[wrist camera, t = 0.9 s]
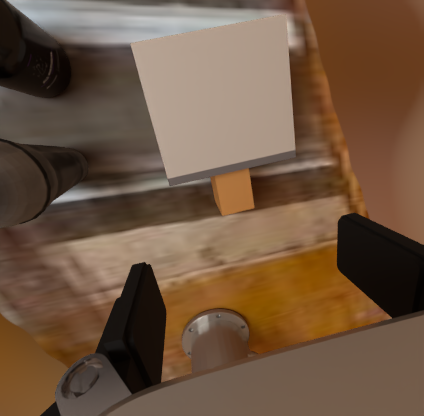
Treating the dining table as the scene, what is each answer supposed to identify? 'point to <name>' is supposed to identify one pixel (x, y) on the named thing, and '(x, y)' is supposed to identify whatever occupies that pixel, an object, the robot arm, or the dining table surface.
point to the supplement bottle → (30, 56)
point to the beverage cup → (35, 178)
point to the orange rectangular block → (233, 191)
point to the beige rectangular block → (219, 97)
